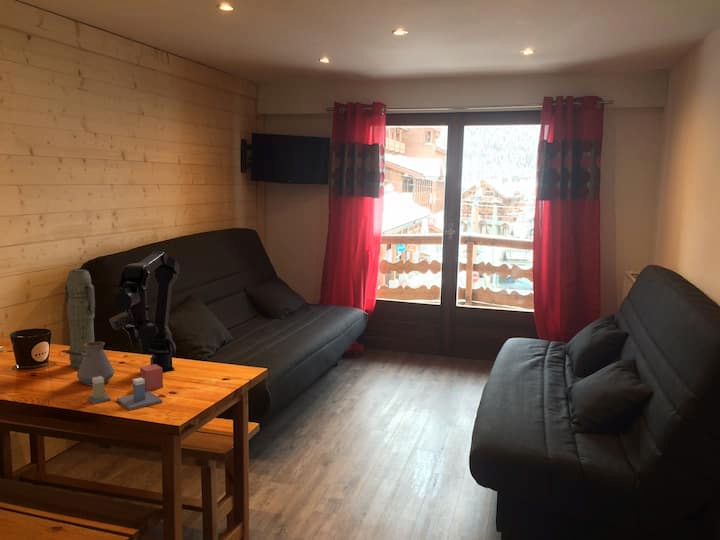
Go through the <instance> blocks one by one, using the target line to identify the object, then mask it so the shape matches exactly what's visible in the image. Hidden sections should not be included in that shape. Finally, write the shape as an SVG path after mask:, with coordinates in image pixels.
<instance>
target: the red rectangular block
mask: <svg viewBox="0 0 720 540" xmlns="http://www.w3.org/2000/svg"><path fill="white" fill-rule="evenodd" d="M139 371H140V378H143V379H144V380H145V391H155V390H157V389H161V388H162V389H163V387H164V384H163V383H164V382H163V381H164V379H163V372H162V368H161V367H160V366H158V365H156V364H154V365H151V364H149V365H143V366H140V367H139Z"/></svg>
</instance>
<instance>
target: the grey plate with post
mask: <svg viewBox="0 0 720 540" xmlns="http://www.w3.org/2000/svg"><path fill="white" fill-rule="evenodd" d="M132 390H133V391H132V394H129V395H125V396H121V397H116V401H117V402H118V403H119V404H120V405H122V406H123V407H124V408H126V409H127V410H128V411H133V410H137V409H140V408H145V407H149V406H153V405H158V404H161V403H163V399H161V398H160V397H158V396H157V395H156V394H154V393H153V392H151V390H149V391H147V390H145V380H144V379H143V378H141V377H138V378H133V379H132Z"/></svg>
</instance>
